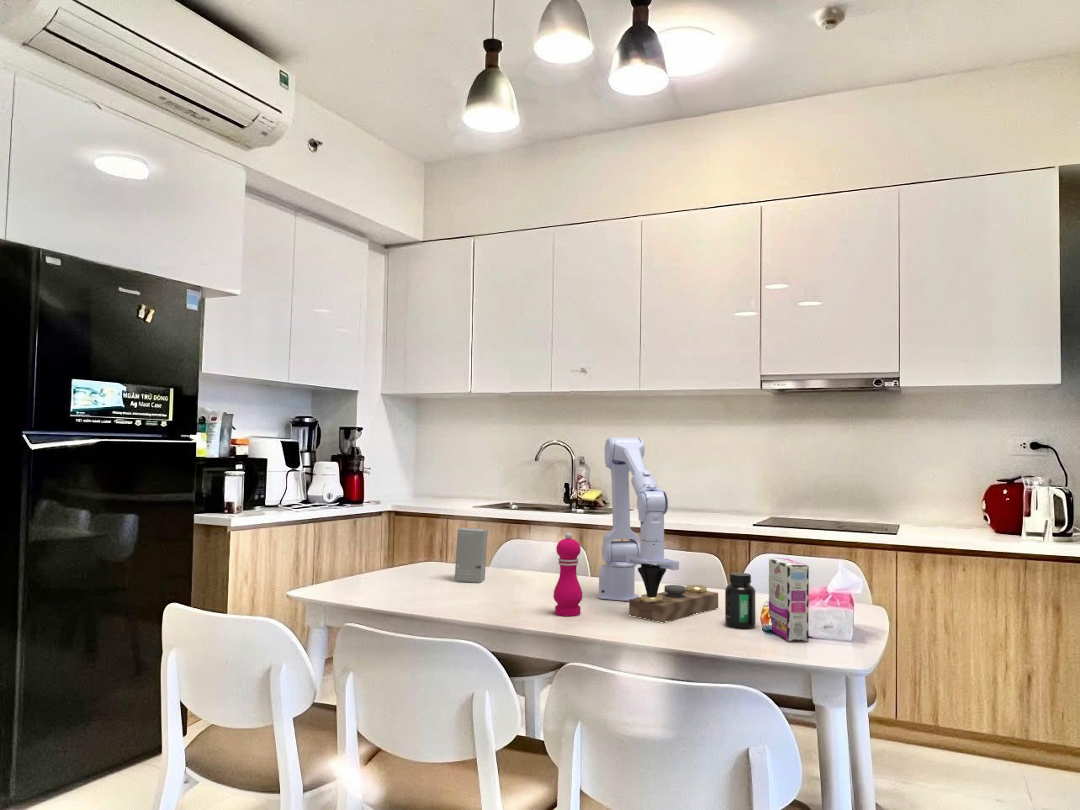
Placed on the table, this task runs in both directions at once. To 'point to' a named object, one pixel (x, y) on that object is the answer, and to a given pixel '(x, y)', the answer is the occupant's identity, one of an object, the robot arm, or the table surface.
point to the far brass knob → (696, 589)
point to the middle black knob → (674, 590)
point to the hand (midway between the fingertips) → (651, 596)
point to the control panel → (674, 606)
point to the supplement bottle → (740, 602)
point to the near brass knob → (652, 599)
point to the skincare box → (471, 555)
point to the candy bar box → (789, 599)
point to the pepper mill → (568, 578)
